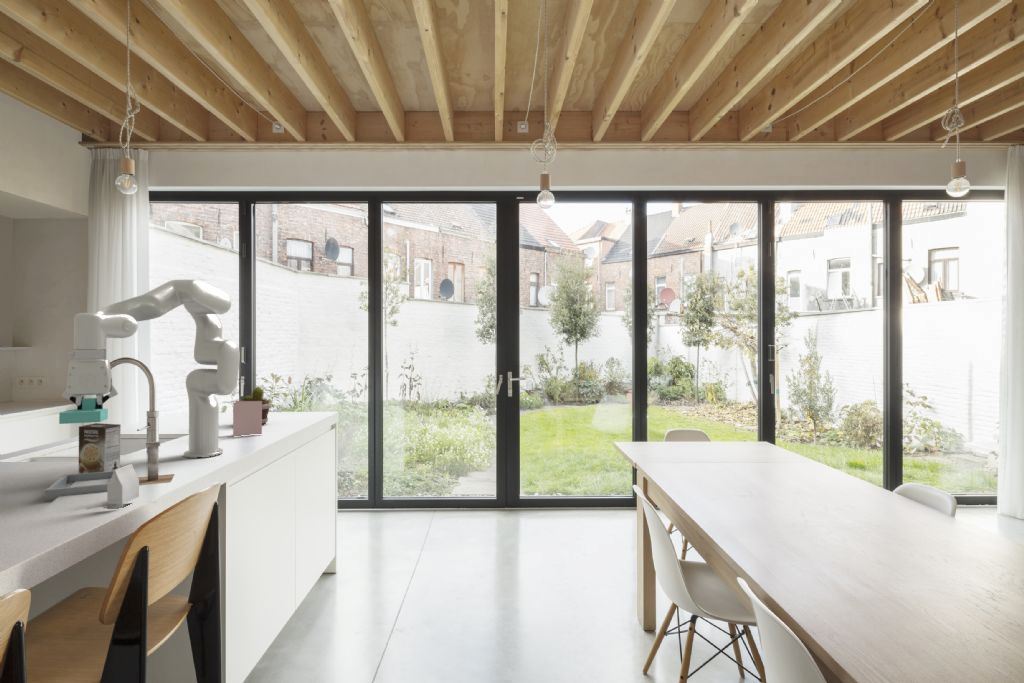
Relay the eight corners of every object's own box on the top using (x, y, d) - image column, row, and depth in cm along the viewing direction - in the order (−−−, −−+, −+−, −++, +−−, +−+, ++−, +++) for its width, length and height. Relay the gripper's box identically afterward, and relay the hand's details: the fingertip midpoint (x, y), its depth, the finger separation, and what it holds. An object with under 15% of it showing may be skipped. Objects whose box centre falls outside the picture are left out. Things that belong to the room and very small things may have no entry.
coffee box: (76, 478, 167) (76, 426, 167) (94, 473, 174) (94, 423, 173) (104, 479, 166) (104, 427, 166) (121, 474, 173) (121, 423, 173)
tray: (64, 485, 160) (64, 474, 160) (122, 480, 166) (122, 470, 166) (45, 501, 145) (45, 490, 145) (109, 495, 151) (109, 484, 151)
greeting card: (262, 434, 241) (262, 400, 241) (255, 437, 234) (255, 402, 234) (236, 434, 241) (236, 400, 241) (228, 437, 234) (228, 402, 233)
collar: (72, 419, 159) (73, 398, 159) (110, 417, 163) (110, 397, 163) (59, 423, 148) (59, 401, 148) (100, 422, 152) (100, 400, 152)
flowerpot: (232, 424, 266) (233, 383, 266) (265, 421, 277) (265, 381, 276) (242, 428, 256) (242, 385, 255) (276, 425, 266) (276, 384, 266)
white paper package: (138, 501, 147) (138, 463, 146) (122, 509, 140) (122, 470, 140) (124, 501, 146) (124, 463, 146) (107, 509, 140) (107, 470, 139)
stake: (135, 481, 165) (135, 440, 165) (174, 477, 169) (174, 438, 169) (129, 490, 156) (129, 446, 156) (170, 486, 160) (170, 444, 160)
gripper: (50, 356, 152) (50, 422, 152) (121, 355, 159) (121, 418, 160) (58, 355, 159) (58, 418, 159) (126, 354, 166) (126, 415, 166)
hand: (90, 417), depth 159 cm, fingers closed on collar, 3 cm apart
